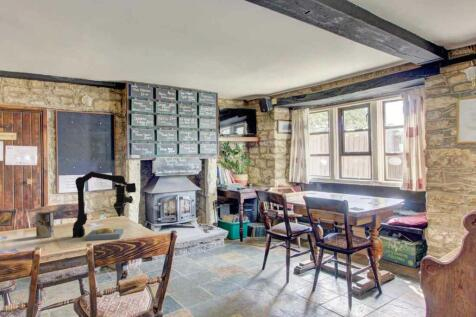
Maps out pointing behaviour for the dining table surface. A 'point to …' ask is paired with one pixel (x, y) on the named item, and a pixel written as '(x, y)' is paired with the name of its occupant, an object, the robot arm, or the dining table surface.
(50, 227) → the coffee box
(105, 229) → the bar
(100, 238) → the keyed plate
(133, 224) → the dining table surface
